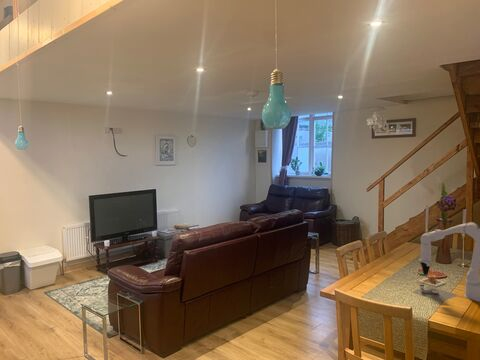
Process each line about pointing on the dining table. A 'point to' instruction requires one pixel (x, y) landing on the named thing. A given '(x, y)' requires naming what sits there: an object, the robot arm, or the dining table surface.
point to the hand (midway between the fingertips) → (425, 274)
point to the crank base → (439, 297)
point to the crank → (429, 290)
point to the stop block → (432, 279)
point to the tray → (432, 284)
